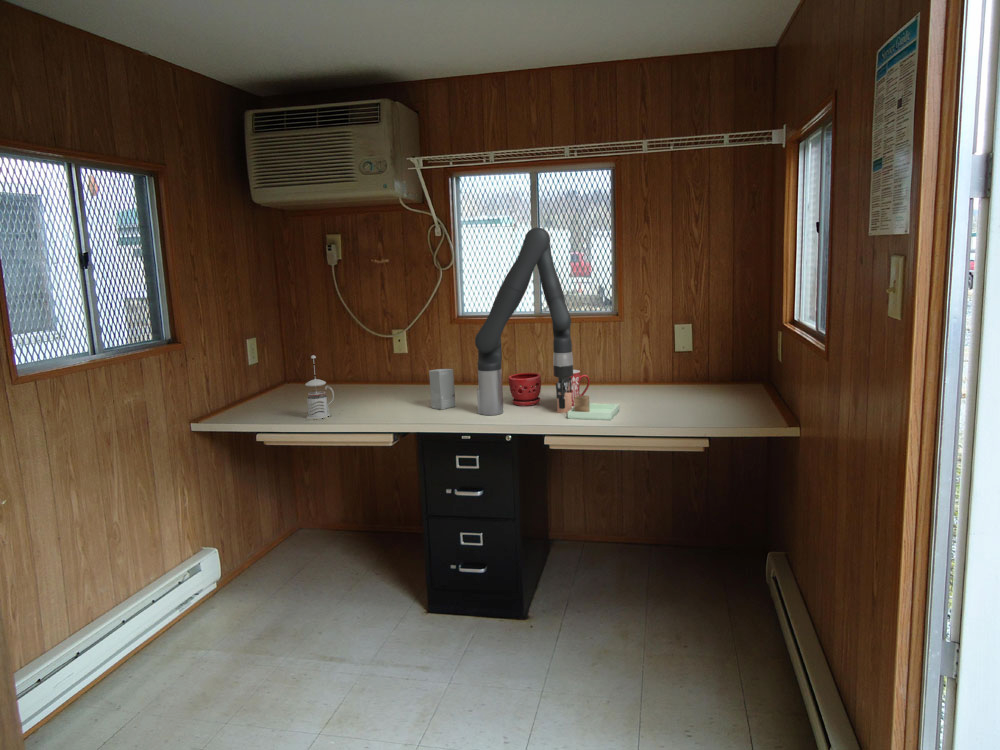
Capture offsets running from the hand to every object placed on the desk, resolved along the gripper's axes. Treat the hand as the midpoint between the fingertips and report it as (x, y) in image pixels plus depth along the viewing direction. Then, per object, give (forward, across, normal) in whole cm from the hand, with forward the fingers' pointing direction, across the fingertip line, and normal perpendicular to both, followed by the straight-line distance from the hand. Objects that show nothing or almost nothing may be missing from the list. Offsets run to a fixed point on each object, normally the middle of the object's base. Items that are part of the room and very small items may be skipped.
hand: (564, 406), depth 280 cm
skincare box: (+2, 0, -52) cm, 52 cm away
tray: (+2, +4, +12) cm, 13 cm away
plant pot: (+2, -11, -20) cm, 23 cm away
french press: (+2, +24, -95) cm, 98 cm away
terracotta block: (+2, 0, 0) cm, 2 cm away
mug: (+2, -13, 0) cm, 13 cm away
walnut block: (+1, +8, +9) cm, 12 cm away
